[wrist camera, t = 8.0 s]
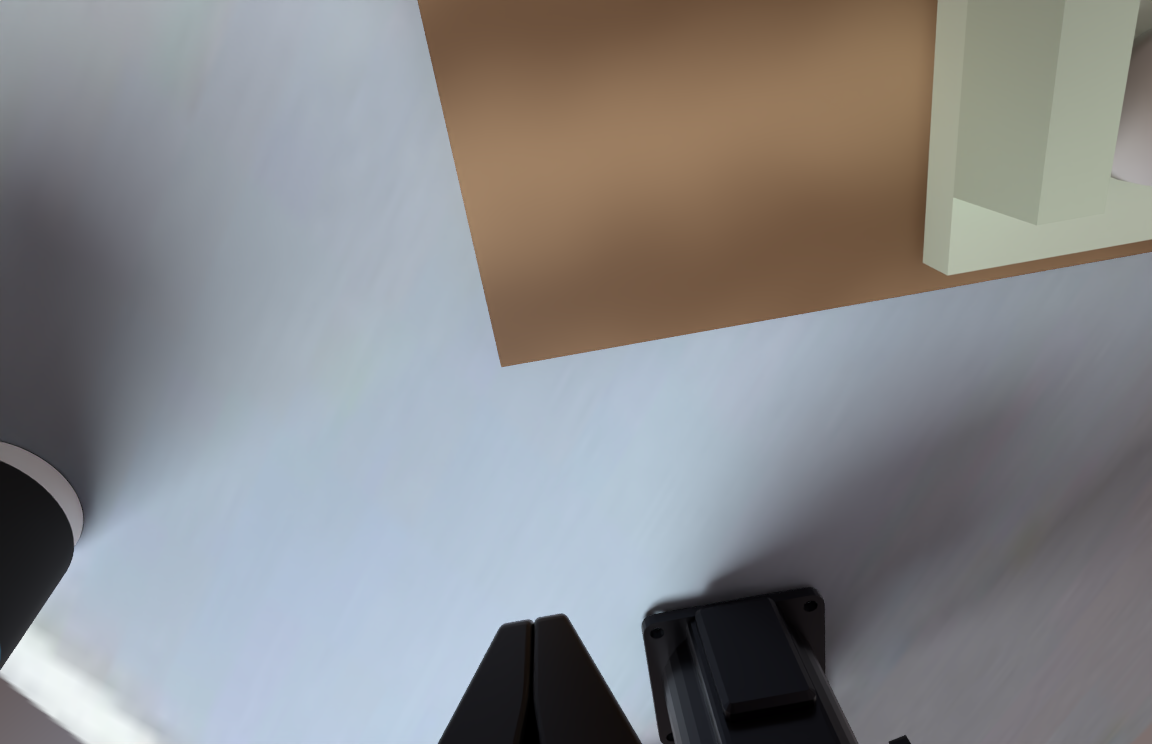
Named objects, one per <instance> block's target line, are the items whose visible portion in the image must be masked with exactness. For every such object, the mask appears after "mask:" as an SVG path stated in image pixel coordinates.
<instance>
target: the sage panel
mask: <svg viewBox="0 0 1152 744" xmlns="http://www.w3.org/2000/svg"><path fill="white" fill-rule="evenodd" d="M1151 28H1152V0H938V5H937V23H936V40H935V57H934V75H933V92H932V110H931V127H930V145H929V162H928V180H927V197H926V214H925V232H924V249H923V263H924V264H926V265H928V266H930V267H932V268H934V269H936V270H938V271H940V272H942V273H944V274H945V275H947V276H948V275H954V274H959V273H965V272H971V271H976V270H982V269H987V268H993V267H999V266H1004V265H1010V264H1016V263H1021V262H1027V261H1033V260H1038V259H1044V258H1049V257H1055V256H1061V255H1066V254H1072V253H1078V252H1083V251H1089V250H1094V249H1100V248H1106V247H1111V246H1117V245H1123V244H1128V243H1134V242H1140V241H1145V240H1151V239H1152V186H1146V185H1140V184H1135V183H1131V182H1126V181H1121V180H1117V179H1115V178H1112V177H1111V171H1112V165H1113V159H1114V153H1115V148H1116V142H1117V136H1118V130H1119V124H1120V118H1121V112H1122V106H1123V100H1124V94H1125V88H1126V82H1127V76H1128V71H1129V65H1130V59H1131V53H1132V47H1133V41H1134V39H1135V38H1136V37H1138V36H1139V35H1141V34H1142V33H1144V32H1146V31H1147V30H1149V29H1151Z"/></svg>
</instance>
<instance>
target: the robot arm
mask: <svg viewBox="0 0 1152 744" xmlns="http://www.w3.org/2000/svg"><path fill="white" fill-rule="evenodd" d="M808 601H811V602H809V603H806V602H808ZM805 603H806V604H805ZM655 628H660V629H658V630H653V629H655ZM642 634H643V640H644V646H645V652H646V658H647V665H648V671H649V677H650V683H651V689H652V696H653V702H654V708H655V714H656V720H657V727H658V732H659V737H660V740H661V742H662V743H663V744H858V742H857V740H856V737H855V735H854V733H853V731H852V729H851V727H850V725H849V723H848V721H847V719H846V717H845V715H844V713H843V711H842V709H841V707H840V705H839V703H838V701H837V699H836V697H835V695H834V693H833V690H832V688H831V686H830V684H829V682H828V680H827V678H826V676H825V607H824V600H823V598H822V596H821V595H820V593H819V591H818V590H817V589H815V588H812V587H807V588H801V589H795V590H789V591H784V592H778V593H772V594H767V595H761V596H755V597H750V598H744V599H738V600H733V601H727V602H721V603H716V604H710V605H704V606H699V607H693V608H688V609H682V610H676V611H671V612H665V613H659V614H654V615H651V616H648V617H647V618H645V619H644V621H643V622H642ZM438 744H642V743H641V741H640V739H639V738H638V736H637V734H636V733H635V731H634V729H633V728H632V726H631V724H630V722H629V721H628V719H627V717H626V716H625V714H624V712H623V711H622V709H621V707H620V705H619V704H618V702H617V700H616V699H615V697H614V695H613V693H612V692H611V690H610V688H609V687H608V685H607V683H606V682H605V680H604V678H603V676H602V675H601V673H600V671H599V670H598V668H597V666H596V664H595V663H594V661H593V659H592V658H591V656H590V654H589V653H588V651H587V649H586V647H585V646H584V644H583V642H582V641H581V639H580V637H579V636H578V634H577V632H576V630H575V629H574V627H573V625H572V624H571V622H570V620H569V619H568V617H567V616H566V615H565V614H555V615H550V616H544V617H539V618H537V619H536V620H535V622H533V621H531V620H522V621H516V622H510V623H505V624H503V625H502V626H501V627H500V628H499V630H498V631H497V633H496V635H495V637H494V639H493V641H492V643H491V645H490V647H489V648H488V650H487V652H486V654H485V656H484V658H483V660H482V662H481V663H480V665H479V667H478V669H477V671H476V673H475V675H474V677H473V679H472V680H471V682H470V684H469V686H468V688H467V690H466V692H465V694H464V695H463V697H462V699H461V701H460V703H459V705H458V707H457V709H456V711H455V712H454V714H453V716H452V718H451V720H450V722H449V724H448V726H447V727H446V729H445V731H444V733H443V735H442V737H441V739H440V741H439V743H438ZM889 744H911V743H910V741H909V740H908V738H907V736H906V735H904V736H902V737H899V738H897V739H894V740H892V741H889Z"/></svg>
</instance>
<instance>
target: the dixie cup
mask: <svg viewBox="0 0 1152 744" xmlns="http://www.w3.org/2000/svg"><path fill="white" fill-rule="evenodd" d="M82 528H83V512H82V508H81V504H80V501H79V499H78V497H77V495H76V493H75V491H74V490H73V488H72V487H71V485H70V484H69V483H68V481H67V480H66V479H65V478H64V477H63V476H62V475H61V474H60V473H59V472H58V471H57V470H56V469H55V468H54V467H52V466H51V465H50V464H48V463H47V462H46V461H44V460H43V459H41V458H39V457H38V456H36V455H34V454H32V453H30V452H28V451H26V450H24V449H22V448H19V447H16V446H14V445H11V444H7V443H4V442H0V670H1V668H2V667H3V665H4V664H5V662H6V661H7V659H8V658H9V656H10V655H11V653H12V652H13V650H14V649H15V647H16V646H17V644H18V643H19V641H20V640H21V639H22V637H23V636H24V634H25V633H26V631H27V630H28V628H29V627H30V625H31V624H32V622H33V621H34V619H35V618H36V616H37V615H38V613H39V612H40V610H41V609H42V607H43V606H44V604H45V603H46V601H47V600H48V598H49V597H50V595H51V594H52V592H53V591H54V589H55V588H56V586H57V585H58V583H59V582H60V580H61V579H62V577H63V576H64V574H65V573H66V571H67V569H68V568H69V566H70V563H71V560H72V557H73V552H74V546H75V545H76V543H77V541H78V539H79V538H80V535H81V532H82Z"/></svg>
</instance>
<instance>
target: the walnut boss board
mask: <svg viewBox="0 0 1152 744" xmlns="http://www.w3.org/2000/svg"><path fill="white" fill-rule="evenodd" d="M418 5H419V9H420V13H421V18H422V22H423V27H424V31H425V35H426V40H427V44H428V48H429V53H430V57H431V62H432V66H433V70H434V75H435V79H436V83H437V88H438V92H439V96H440V101H441V105H442V110H443V114H444V118H445V123H446V127H447V131H448V136H449V140H450V145H451V149H452V153H453V158H454V162H455V166H456V171H457V175H458V180H459V184H460V188H461V193H462V197H463V201H464V206H465V210H466V215H467V219H468V223H469V228H470V232H471V236H472V241H473V245H474V249H475V254H476V258H477V263H478V267H479V271H480V276H481V280H482V284H483V289H484V293H485V298H486V302H487V306H488V311H489V315H490V319H491V324H492V328H493V333H494V337H495V341H496V346H497V350H498V354H499V359H500V363H501V367H505V366H511V365H516V364H522V363H528V362H533V361H539V360H545V359H550V358H556V357H561V356H567V355H573V354H578V353H584V352H590V351H595V350H601V349H607V348H612V347H618V346H623V345H629V344H635V343H640V342H646V341H652V340H657V339H663V338H669V337H674V336H680V335H685V334H691V333H697V332H702V331H708V330H714V329H719V328H725V327H731V326H736V325H742V324H747V323H753V322H759V321H764V320H770V319H776V318H781V317H787V316H793V315H798V314H804V313H809V312H815V311H821V310H826V309H832V308H838V307H843V306H849V305H855V304H860V303H866V302H871V301H877V300H883V299H888V298H894V297H900V296H905V295H911V294H917V293H922V292H928V291H933V290H939V289H945V288H950V287H956V286H962V285H967V284H973V283H979V282H984V281H990V280H995V279H1001V278H1007V277H1012V276H1018V275H1024V274H1029V273H1035V272H1041V271H1046V270H1052V269H1057V268H1063V267H1069V266H1074V265H1080V264H1086V263H1091V262H1097V261H1103V260H1108V259H1114V258H1119V257H1125V256H1131V255H1136V254H1142V253H1148V252H1152V239H1151V240H1145V241H1140V242H1134V243H1128V244H1123V245H1117V246H1111V247H1106V248H1100V249H1094V250H1089V251H1083V252H1078V253H1072V254H1066V255H1061V256H1055V257H1049V258H1044V259H1038V260H1033V261H1027V262H1021V263H1016V264H1010V265H1004V266H999V267H993V268H987V269H982V270H976V271H971V272H965V273H959V274H954V275H948V276H947V275H945V274H944V273H942V272H940V271H938V270H936V269H934V268H932V267H930V266H928V265H926V264H924V263H923V249H924V232H925V214H926V197H927V180H928V162H929V145H930V127H931V110H932V92H933V75H934V57H935V40H936V23H937V5H938V0H418ZM1111 177H1112V178H1115V179H1117V180H1121V181H1126V182H1131V183H1135V184H1140V185H1146V186H1152V28H1151V29H1149V30H1147V31H1146V32H1144V33H1142V34H1141V35H1139V36H1138V37H1136V38H1135V39H1134V41H1133V47H1132V53H1131V59H1130V65H1129V71H1128V76H1127V82H1126V88H1125V94H1124V100H1123V106H1122V112H1121V118H1120V124H1119V130H1118V136H1117V142H1116V148H1115V153H1114V159H1113V165H1112V171H1111Z"/></svg>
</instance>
